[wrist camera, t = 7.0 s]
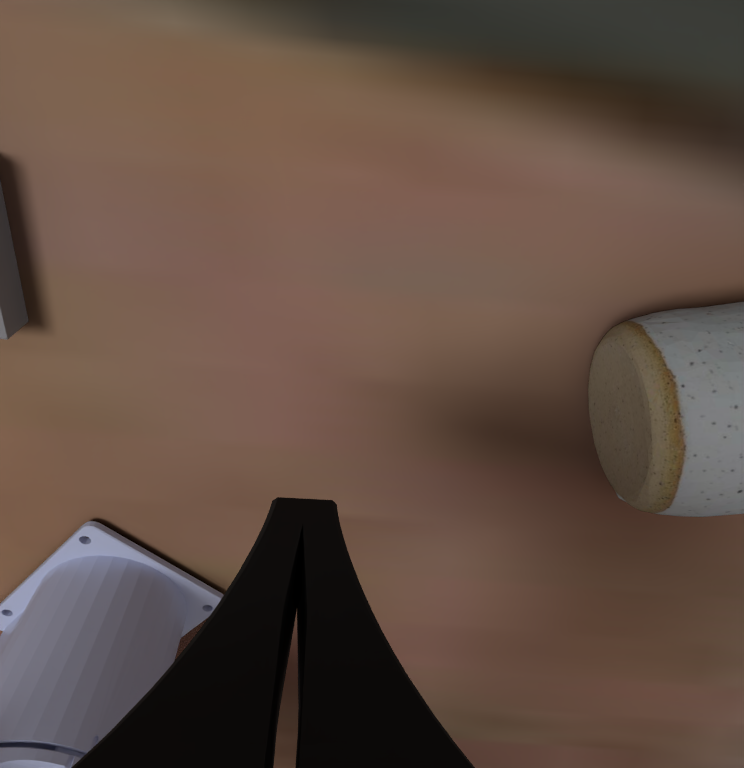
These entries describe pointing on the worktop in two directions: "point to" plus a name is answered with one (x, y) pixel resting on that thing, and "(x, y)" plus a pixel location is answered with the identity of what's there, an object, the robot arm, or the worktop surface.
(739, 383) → the ceramic mug
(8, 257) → the tile
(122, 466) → the worktop surface
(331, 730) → the robot arm
